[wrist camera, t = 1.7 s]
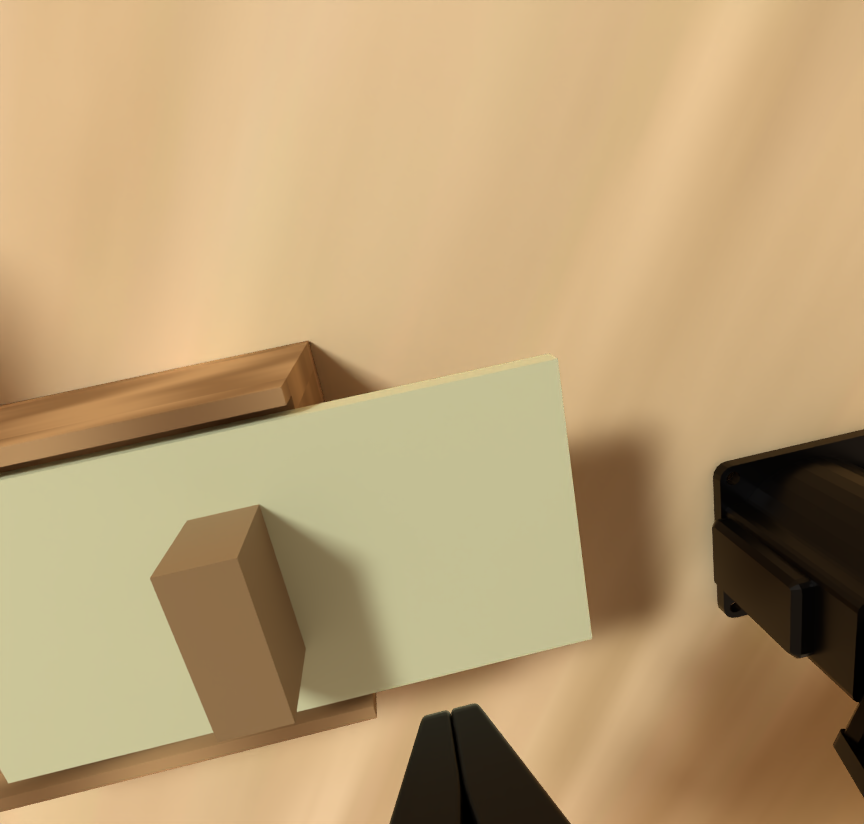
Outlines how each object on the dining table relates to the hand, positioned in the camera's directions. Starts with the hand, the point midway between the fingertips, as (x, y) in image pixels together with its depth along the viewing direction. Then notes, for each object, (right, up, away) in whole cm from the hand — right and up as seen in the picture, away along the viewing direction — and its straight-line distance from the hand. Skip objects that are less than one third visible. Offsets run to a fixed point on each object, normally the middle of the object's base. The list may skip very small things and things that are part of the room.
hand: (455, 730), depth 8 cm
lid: (-4, +1, +5) cm, 7 cm away
